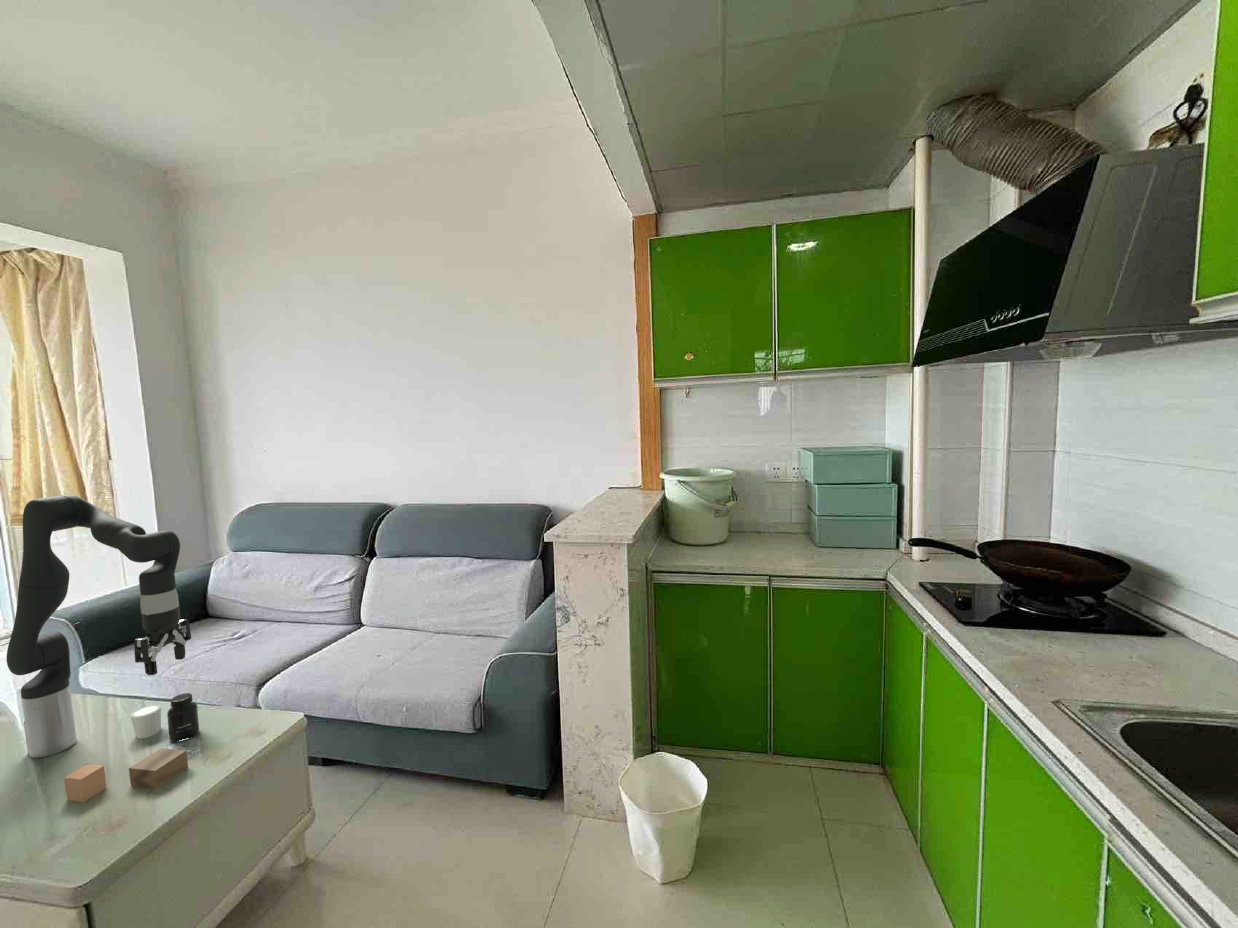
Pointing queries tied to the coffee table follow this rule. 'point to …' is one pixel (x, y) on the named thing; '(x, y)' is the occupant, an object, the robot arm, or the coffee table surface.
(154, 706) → the white cylinder
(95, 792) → the tan block
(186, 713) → the supplement bottle
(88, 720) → the coffee table surface
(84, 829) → the coffee table surface
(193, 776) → the coffee table surface
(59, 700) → the robot arm
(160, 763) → the walnut box
